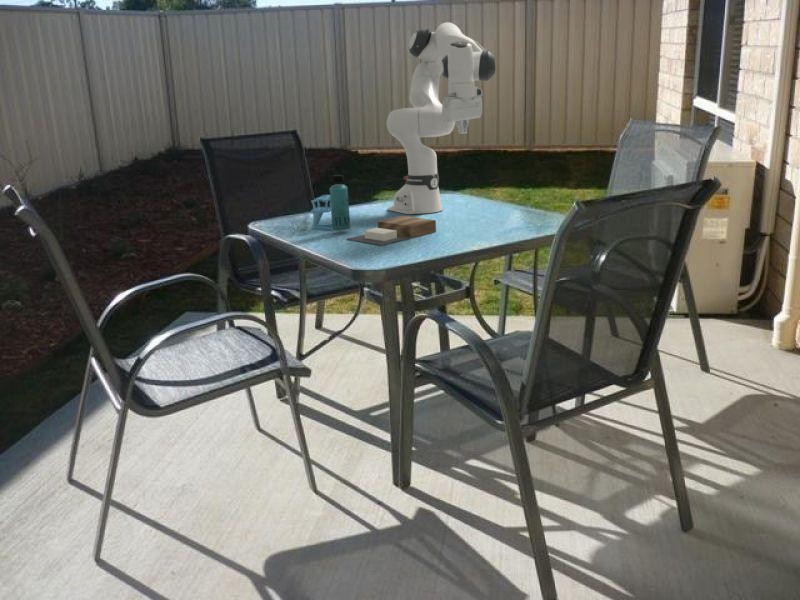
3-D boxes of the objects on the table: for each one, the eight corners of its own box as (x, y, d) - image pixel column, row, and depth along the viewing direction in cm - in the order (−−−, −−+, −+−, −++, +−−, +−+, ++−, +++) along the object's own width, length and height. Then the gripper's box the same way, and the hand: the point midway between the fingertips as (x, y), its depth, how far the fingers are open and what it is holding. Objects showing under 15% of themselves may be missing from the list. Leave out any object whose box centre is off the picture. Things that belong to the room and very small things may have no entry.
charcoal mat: (347, 239, 274) (346, 238, 274) (375, 232, 282) (375, 231, 282) (381, 245, 262) (381, 244, 262) (410, 238, 270) (410, 237, 270)
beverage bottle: (333, 235, 282) (329, 176, 276) (331, 231, 288) (326, 174, 282) (352, 233, 283) (348, 175, 277) (349, 230, 289) (345, 173, 283)
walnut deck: (378, 232, 282) (377, 221, 281) (403, 226, 290) (402, 215, 289) (410, 238, 271) (410, 226, 270) (436, 231, 279) (435, 220, 278)
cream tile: (377, 227, 276) (377, 234, 277) (364, 231, 272) (364, 238, 273) (396, 230, 270) (397, 237, 271) (383, 233, 266) (384, 241, 267)
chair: (317, 226, 300) (314, 193, 296) (338, 226, 298) (336, 192, 294) (309, 230, 293) (306, 196, 289) (331, 230, 290) (328, 196, 287)
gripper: (452, 93, 269) (453, 136, 273) (485, 90, 285) (485, 130, 289) (436, 94, 273) (438, 136, 277) (469, 90, 288) (470, 130, 292)
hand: (462, 133), depth 283 cm, fingers closed
